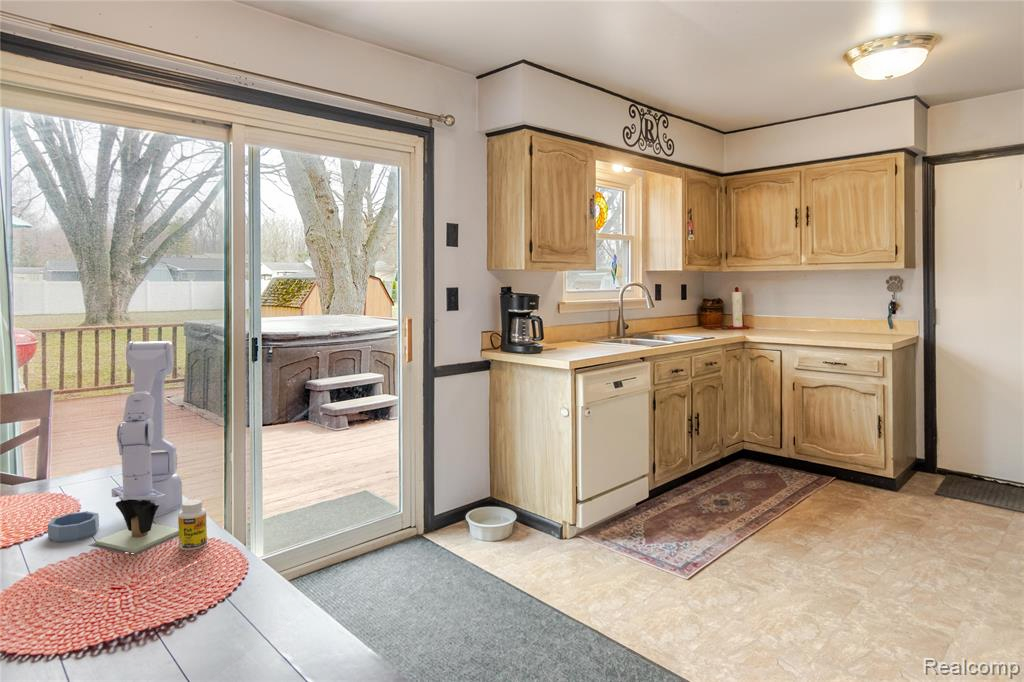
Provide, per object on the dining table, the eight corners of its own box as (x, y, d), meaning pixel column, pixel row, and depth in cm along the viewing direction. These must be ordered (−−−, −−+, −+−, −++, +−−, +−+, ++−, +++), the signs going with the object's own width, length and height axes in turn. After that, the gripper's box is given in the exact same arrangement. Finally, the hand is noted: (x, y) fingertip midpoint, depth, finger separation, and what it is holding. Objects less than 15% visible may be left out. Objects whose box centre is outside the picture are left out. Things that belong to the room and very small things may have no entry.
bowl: (80, 525, 148) (79, 509, 148) (107, 531, 145) (106, 515, 145) (40, 540, 140) (39, 523, 139) (67, 546, 137) (66, 529, 136)
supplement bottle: (180, 553, 134) (178, 508, 133) (178, 544, 138) (176, 500, 137) (208, 548, 137) (207, 503, 136) (205, 539, 141) (204, 496, 140)
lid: (144, 524, 148) (143, 505, 148) (181, 532, 144) (181, 512, 144) (96, 544, 137) (95, 523, 137) (134, 553, 133) (133, 531, 132)
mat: (145, 524, 150) (145, 522, 149) (188, 533, 145) (188, 531, 145) (88, 546, 136) (88, 545, 136) (133, 557, 132) (133, 555, 132)
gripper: (97, 473, 138) (100, 532, 139) (144, 482, 133) (146, 542, 134) (126, 465, 144) (129, 521, 146) (172, 472, 139) (174, 530, 141)
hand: (139, 530), depth 140 cm, fingers closed on lid, 3 cm apart
